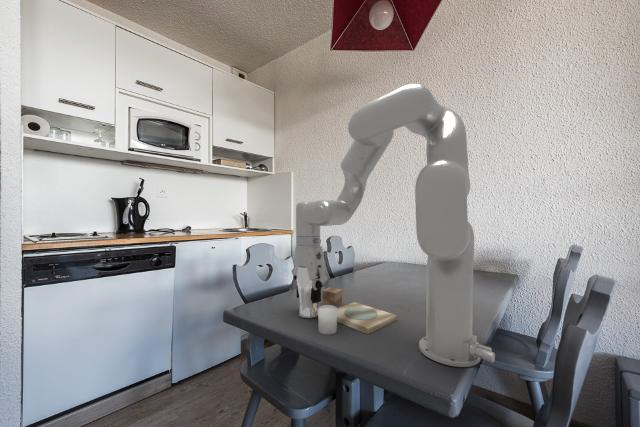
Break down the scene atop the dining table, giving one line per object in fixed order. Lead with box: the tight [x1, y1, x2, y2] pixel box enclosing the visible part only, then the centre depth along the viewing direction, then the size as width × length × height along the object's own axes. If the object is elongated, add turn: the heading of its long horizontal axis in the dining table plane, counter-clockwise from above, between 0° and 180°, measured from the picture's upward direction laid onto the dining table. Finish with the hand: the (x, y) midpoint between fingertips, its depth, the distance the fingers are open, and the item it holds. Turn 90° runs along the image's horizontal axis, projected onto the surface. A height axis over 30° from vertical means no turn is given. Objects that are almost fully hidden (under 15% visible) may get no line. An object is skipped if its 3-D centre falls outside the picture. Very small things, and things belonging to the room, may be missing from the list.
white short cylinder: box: [317, 304, 338, 335], centre depth 73 cm, size 5×5×6 cm
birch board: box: [337, 301, 398, 335], centre depth 82 cm, size 16×14×2 cm
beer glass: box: [296, 266, 319, 319], centre depth 84 cm, size 7×7×15 cm
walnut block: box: [321, 286, 343, 308], centre depth 95 cm, size 5×5×5 cm
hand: (308, 299), depth 84 cm, fingers closed on beer glass, 6 cm apart
